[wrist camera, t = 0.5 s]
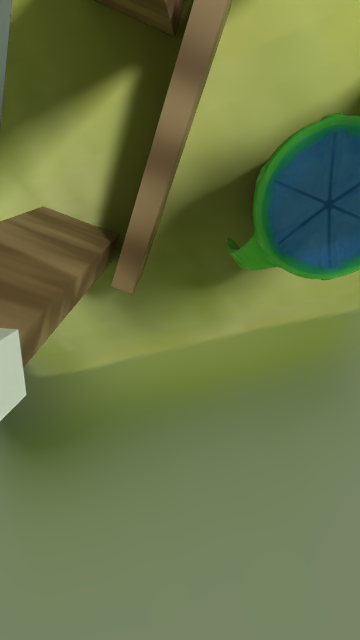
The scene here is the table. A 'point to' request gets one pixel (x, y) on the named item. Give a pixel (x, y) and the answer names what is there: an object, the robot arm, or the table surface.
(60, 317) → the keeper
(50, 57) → the table surface
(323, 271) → the snack cup
